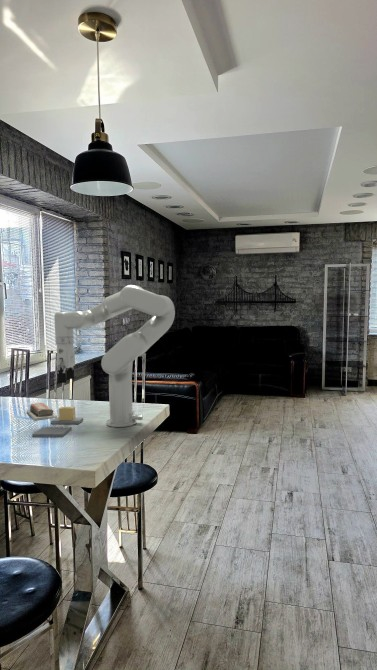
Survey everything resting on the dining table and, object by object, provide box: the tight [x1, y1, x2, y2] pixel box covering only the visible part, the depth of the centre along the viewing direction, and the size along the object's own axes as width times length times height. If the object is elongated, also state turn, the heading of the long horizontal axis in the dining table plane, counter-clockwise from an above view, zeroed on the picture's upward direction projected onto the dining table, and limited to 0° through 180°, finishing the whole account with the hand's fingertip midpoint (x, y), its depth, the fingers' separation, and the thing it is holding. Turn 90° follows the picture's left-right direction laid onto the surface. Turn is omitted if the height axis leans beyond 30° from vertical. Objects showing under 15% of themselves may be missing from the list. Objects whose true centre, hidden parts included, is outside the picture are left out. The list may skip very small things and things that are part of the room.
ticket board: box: [31, 426, 73, 438], centre depth 173 cm, size 12×10×1 cm
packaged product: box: [26, 402, 58, 422], centre depth 203 cm, size 18×5×10 cm
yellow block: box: [50, 406, 84, 425], centre depth 189 cm, size 12×6×6 cm, turn 85°
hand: (66, 380), depth 188 cm, fingers open, 9 cm apart
